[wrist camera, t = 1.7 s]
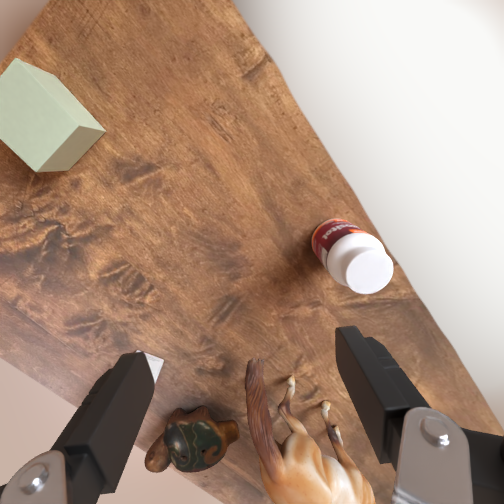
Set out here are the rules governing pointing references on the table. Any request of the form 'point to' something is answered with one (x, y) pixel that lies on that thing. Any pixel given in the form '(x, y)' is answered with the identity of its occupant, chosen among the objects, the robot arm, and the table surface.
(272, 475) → the horse figurine
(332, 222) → the pill bottle
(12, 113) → the block
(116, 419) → the robot arm
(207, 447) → the decorative turtle
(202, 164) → the table surface
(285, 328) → the table surface
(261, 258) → the table surface
